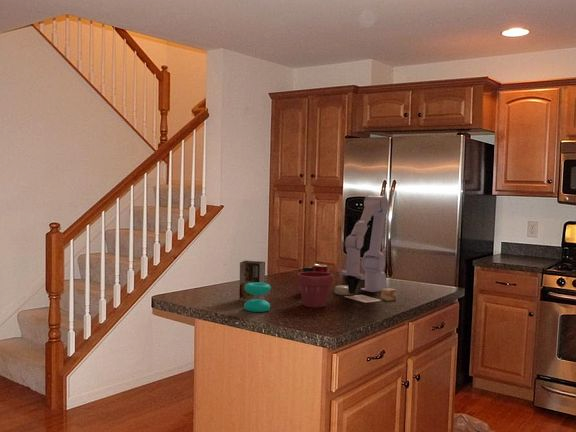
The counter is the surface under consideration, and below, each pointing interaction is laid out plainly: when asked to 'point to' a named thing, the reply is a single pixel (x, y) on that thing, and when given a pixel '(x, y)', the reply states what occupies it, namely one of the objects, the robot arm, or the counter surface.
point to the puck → (342, 290)
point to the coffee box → (251, 278)
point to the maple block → (388, 294)
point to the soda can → (320, 268)
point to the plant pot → (314, 288)
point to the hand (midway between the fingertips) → (352, 293)
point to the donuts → (257, 304)
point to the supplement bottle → (307, 269)
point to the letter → (363, 298)
